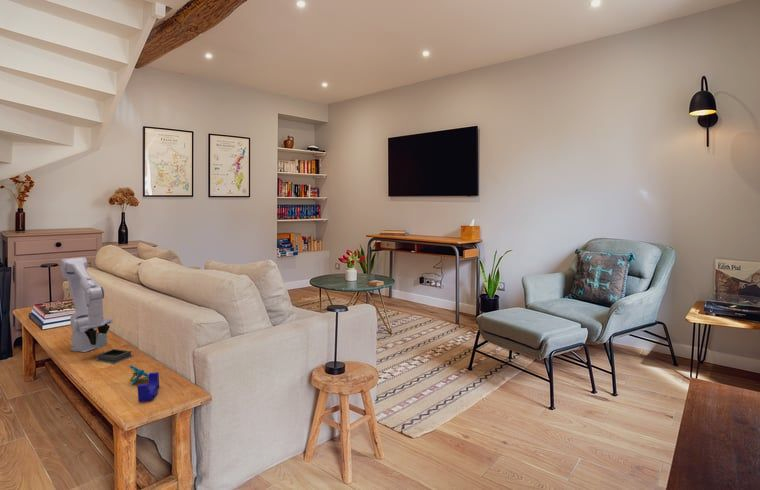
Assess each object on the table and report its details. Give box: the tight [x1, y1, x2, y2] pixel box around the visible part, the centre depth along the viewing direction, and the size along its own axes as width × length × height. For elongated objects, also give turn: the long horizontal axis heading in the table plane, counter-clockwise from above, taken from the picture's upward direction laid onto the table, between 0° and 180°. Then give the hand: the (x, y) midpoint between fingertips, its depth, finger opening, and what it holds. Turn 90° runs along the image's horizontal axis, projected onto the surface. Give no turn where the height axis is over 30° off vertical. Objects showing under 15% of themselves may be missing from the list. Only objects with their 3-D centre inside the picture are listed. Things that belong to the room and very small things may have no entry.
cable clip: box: [136, 371, 160, 402], centre depth 164 cm, size 12×4×6 cm, turn 8°
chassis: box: [94, 348, 135, 365], centre depth 199 cm, size 11×10×2 cm
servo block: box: [89, 331, 108, 349], centre depth 201 cm, size 6×4×6 cm, turn 72°
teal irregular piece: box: [129, 364, 149, 385], centre depth 174 cm, size 11×6×10 cm
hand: (97, 342), depth 201 cm, fingers closed on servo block, 4 cm apart
